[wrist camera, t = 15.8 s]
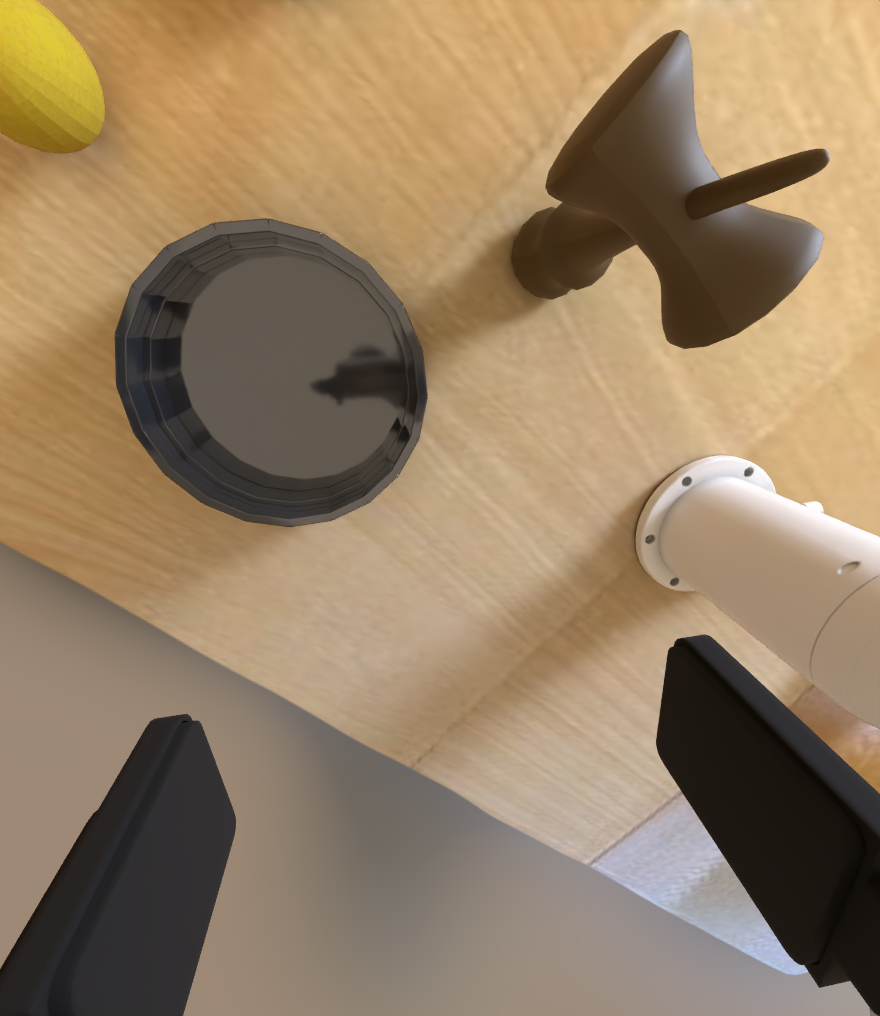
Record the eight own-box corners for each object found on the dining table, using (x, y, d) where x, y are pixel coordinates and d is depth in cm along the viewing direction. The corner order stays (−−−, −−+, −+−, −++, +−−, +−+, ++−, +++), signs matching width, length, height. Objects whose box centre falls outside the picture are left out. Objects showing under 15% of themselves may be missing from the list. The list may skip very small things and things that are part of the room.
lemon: (3, 133, 24) (-155, 50, 17) (26, 13, 23) (-136, -135, 15) (117, 195, 26) (19, 144, 18) (146, 87, 24) (51, -14, 17)
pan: (400, 223, 28) (407, 206, 24) (430, 483, 35) (439, 504, 31) (107, 248, 27) (59, 234, 22) (197, 517, 33) (174, 545, 29)
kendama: (564, 342, 33) (822, 369, 14) (463, 241, 29) (633, 106, 11) (624, 270, 31) (989, 200, 13) (526, 156, 28) (836, -156, 10)
